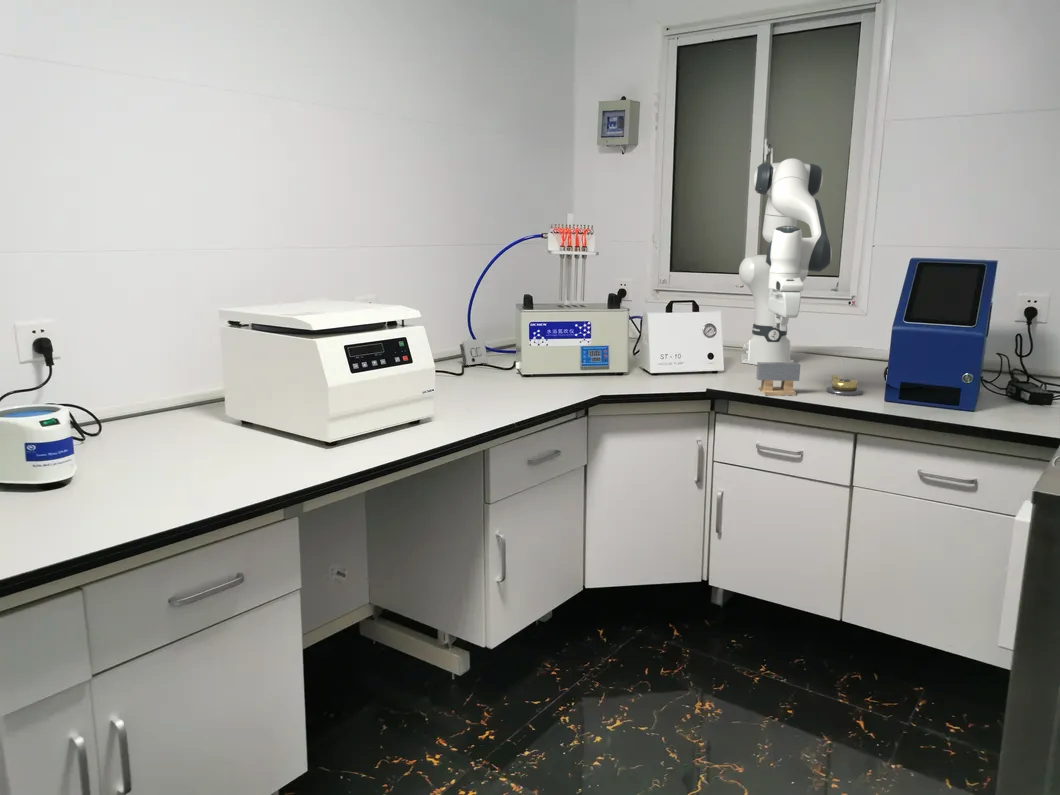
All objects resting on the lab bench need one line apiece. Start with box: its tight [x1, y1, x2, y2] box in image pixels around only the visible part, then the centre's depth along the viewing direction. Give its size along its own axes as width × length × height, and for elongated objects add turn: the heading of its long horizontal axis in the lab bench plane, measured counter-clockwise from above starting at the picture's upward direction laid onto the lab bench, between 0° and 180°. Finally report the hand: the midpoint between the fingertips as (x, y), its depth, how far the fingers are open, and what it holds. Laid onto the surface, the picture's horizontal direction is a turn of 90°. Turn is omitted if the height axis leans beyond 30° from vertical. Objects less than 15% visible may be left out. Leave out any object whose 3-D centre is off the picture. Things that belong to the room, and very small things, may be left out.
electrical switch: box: [459, 338, 489, 366], centre depth 285 cm, size 9×5×9 cm, turn 132°
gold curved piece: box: [831, 374, 858, 391], centre depth 241 cm, size 12×7×3 cm, turn 178°
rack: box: [757, 380, 797, 396], centre depth 238 cm, size 8×9×4 cm
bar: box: [756, 362, 801, 382], centre depth 237 cm, size 3×12×5 cm, turn 85°
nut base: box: [826, 385, 863, 397], centre depth 239 cm, size 10×10×1 cm
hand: (780, 329), depth 235 cm, fingers open, 2 cm apart
